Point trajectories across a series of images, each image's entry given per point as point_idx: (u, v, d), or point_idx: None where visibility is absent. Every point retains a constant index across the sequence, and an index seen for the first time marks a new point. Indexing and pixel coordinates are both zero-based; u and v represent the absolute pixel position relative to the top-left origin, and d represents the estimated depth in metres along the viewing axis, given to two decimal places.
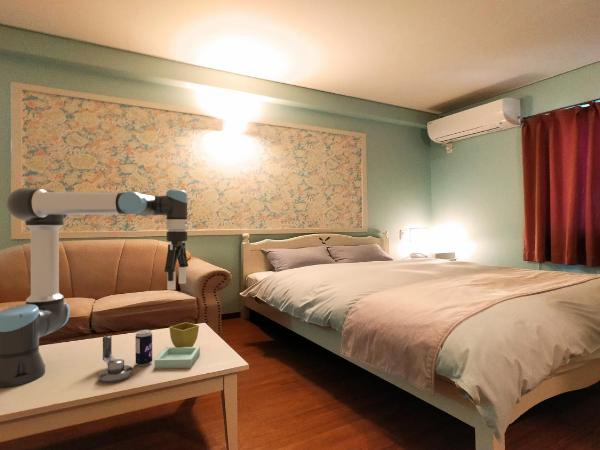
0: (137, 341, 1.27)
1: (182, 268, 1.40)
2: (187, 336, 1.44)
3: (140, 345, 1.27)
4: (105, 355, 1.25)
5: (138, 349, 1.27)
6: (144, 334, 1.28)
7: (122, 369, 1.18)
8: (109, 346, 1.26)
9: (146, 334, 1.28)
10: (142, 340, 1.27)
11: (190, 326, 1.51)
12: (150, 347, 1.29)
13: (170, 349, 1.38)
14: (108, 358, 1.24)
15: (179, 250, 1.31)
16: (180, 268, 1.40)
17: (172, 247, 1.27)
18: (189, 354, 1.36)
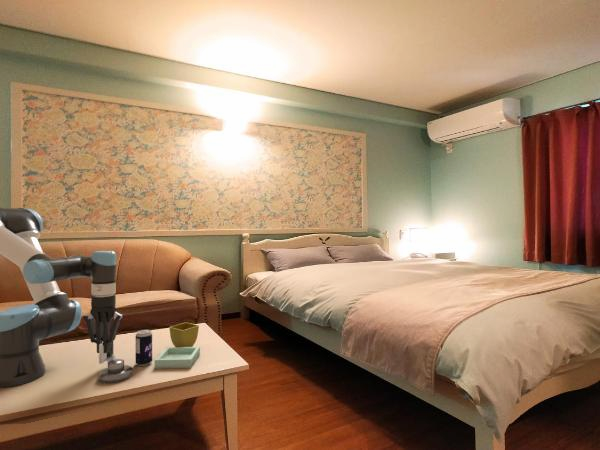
0: (137, 341, 1.27)
1: None
2: (187, 336, 1.44)
3: (140, 345, 1.27)
4: (107, 355, 1.26)
5: (138, 349, 1.27)
6: (144, 334, 1.28)
7: (122, 369, 1.18)
8: (111, 346, 1.26)
9: (146, 334, 1.28)
10: (142, 340, 1.27)
11: (190, 326, 1.51)
12: (150, 347, 1.29)
13: (170, 349, 1.38)
14: (109, 358, 1.24)
15: (95, 319, 1.22)
16: None
17: None
18: (189, 354, 1.36)
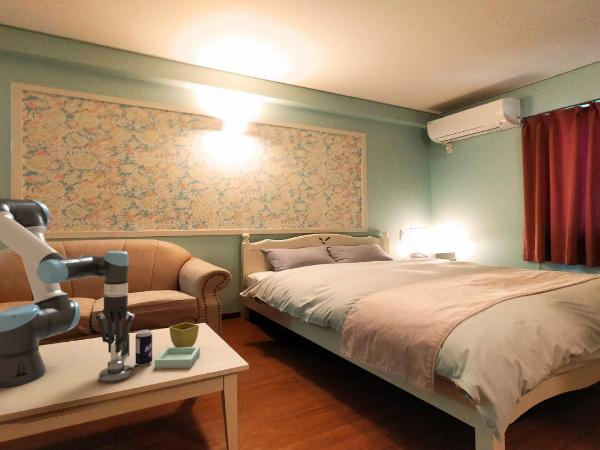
0: (137, 341, 1.27)
1: None
2: (187, 336, 1.44)
3: (140, 345, 1.27)
4: (122, 352, 1.28)
5: (138, 349, 1.27)
6: (144, 334, 1.28)
7: (119, 370, 1.17)
8: (125, 344, 1.28)
9: (146, 334, 1.28)
10: (142, 340, 1.27)
11: (190, 326, 1.51)
12: (150, 347, 1.29)
13: (170, 349, 1.38)
14: (121, 356, 1.26)
15: (107, 318, 1.22)
16: None
17: None
18: (189, 354, 1.36)
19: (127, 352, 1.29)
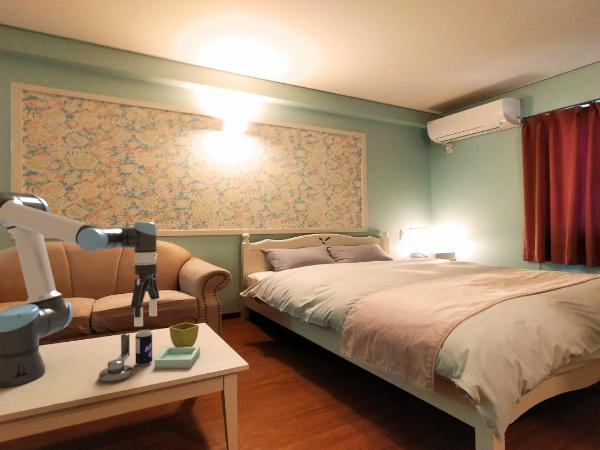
0: (137, 341, 1.27)
1: (153, 300, 1.36)
2: (187, 336, 1.44)
3: (140, 345, 1.27)
4: (122, 352, 1.28)
5: (138, 349, 1.27)
6: (144, 334, 1.28)
7: (119, 370, 1.17)
8: (125, 344, 1.28)
9: (146, 334, 1.28)
10: (142, 340, 1.27)
11: (190, 326, 1.51)
12: (150, 347, 1.29)
13: (170, 349, 1.38)
14: (121, 356, 1.26)
15: (147, 284, 1.27)
16: (151, 300, 1.36)
17: (139, 282, 1.23)
18: (189, 354, 1.36)
19: (127, 352, 1.29)
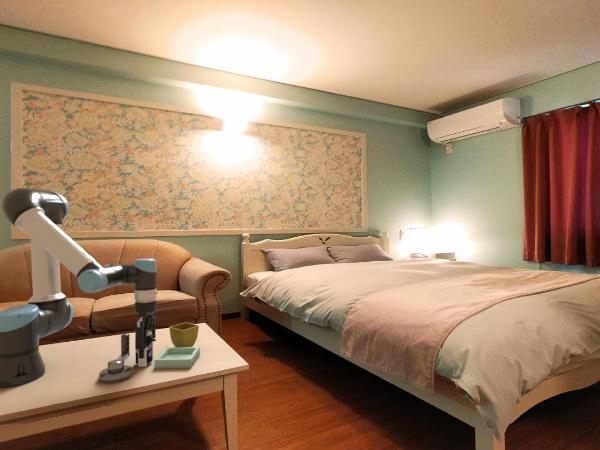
0: None
1: None
2: (187, 336, 1.44)
3: None
4: (122, 352, 1.28)
5: None
6: None
7: (119, 370, 1.17)
8: (125, 344, 1.28)
9: None
10: None
11: (190, 326, 1.51)
12: (150, 347, 1.29)
13: (170, 349, 1.38)
14: (121, 356, 1.26)
15: (148, 323, 1.28)
16: None
17: (140, 325, 1.23)
18: (189, 354, 1.36)
19: (127, 352, 1.29)
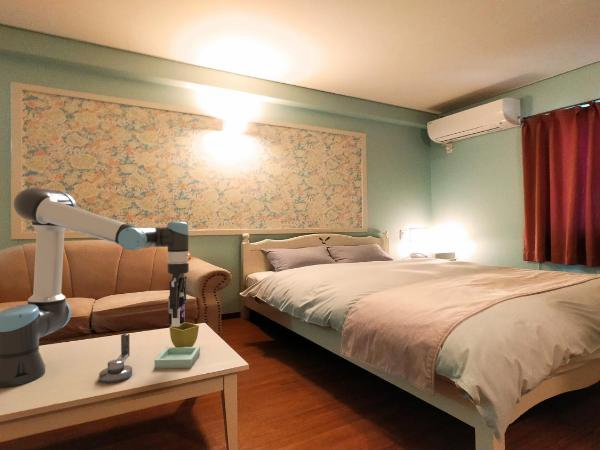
0: None
1: None
2: (187, 336, 1.44)
3: None
4: (122, 352, 1.28)
5: (171, 309, 1.30)
6: None
7: (119, 370, 1.17)
8: (125, 344, 1.28)
9: None
10: None
11: (190, 326, 1.51)
12: (183, 308, 1.32)
13: (170, 349, 1.38)
14: (121, 356, 1.26)
15: (181, 284, 1.30)
16: None
17: (174, 285, 1.26)
18: (189, 354, 1.36)
19: (127, 352, 1.29)
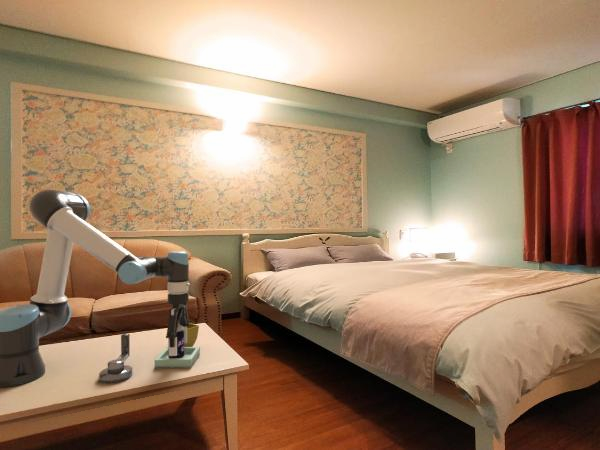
0: None
1: None
2: (187, 336, 1.44)
3: None
4: (122, 352, 1.28)
5: None
6: (177, 329, 1.30)
7: (119, 370, 1.17)
8: (125, 344, 1.28)
9: (179, 329, 1.31)
10: None
11: (190, 326, 1.51)
12: (182, 342, 1.32)
13: None
14: (121, 356, 1.26)
15: (180, 313, 1.30)
16: None
17: (174, 312, 1.26)
18: (189, 354, 1.36)
19: (127, 352, 1.29)
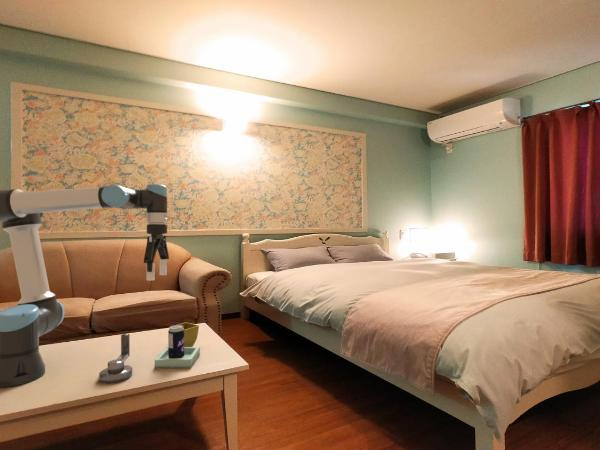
0: (170, 336, 1.30)
1: (163, 260, 1.44)
2: (187, 336, 1.44)
3: (174, 340, 1.30)
4: (122, 352, 1.28)
5: (171, 344, 1.30)
6: (177, 329, 1.30)
7: (119, 370, 1.17)
8: (125, 344, 1.28)
9: (179, 329, 1.31)
10: (175, 335, 1.30)
11: (190, 326, 1.51)
12: (182, 342, 1.32)
13: None
14: (121, 356, 1.26)
15: (159, 242, 1.35)
16: (161, 260, 1.44)
17: (151, 239, 1.31)
18: (189, 354, 1.36)
19: (127, 352, 1.29)
